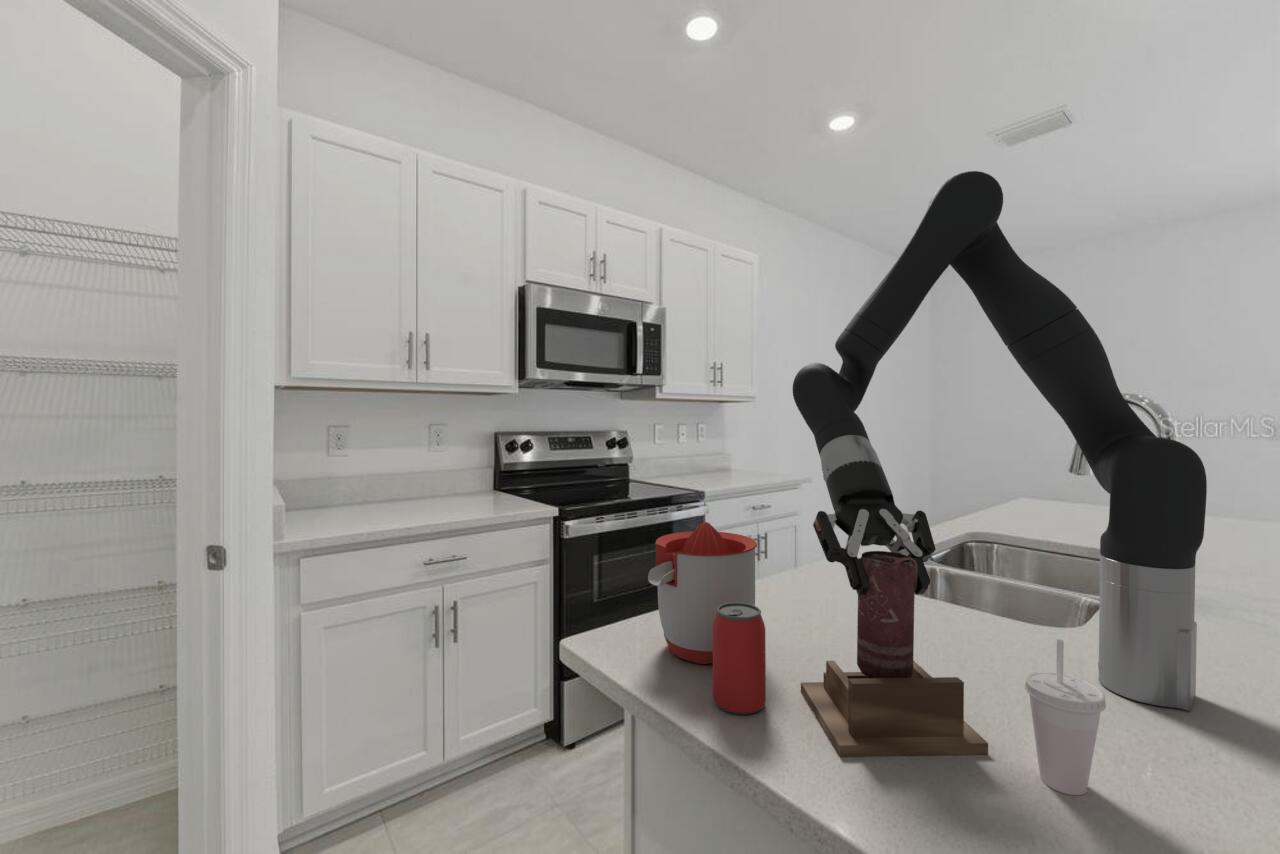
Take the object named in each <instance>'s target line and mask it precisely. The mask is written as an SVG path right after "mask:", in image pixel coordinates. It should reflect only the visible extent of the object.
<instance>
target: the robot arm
mask: <svg viewBox="0 0 1280 854" xmlns="http://www.w3.org/2000/svg"><path fill="white" fill-rule="evenodd" d="M1003 205H1004V192H1003V188H1002V187H1001V185H1000V183H999V181H997V179H996V178H995V177H994V176H992V175H991V174H989V173H986V172H984V171H978V170H972V171H971V170H970V171H965V172H964V171H963V172H961V173H958V174H956V175H953V176H952V177H950V178H948V179H946V180H945V181H944V182H942V184H941V185H939V186H938V188H937V189H936V190H935V191H934V193H933V195H932V197H931V199H930V200H929V203H928V206H927V209H926V211H925V213H924V215H923V217H922V219H921V220H920V222H919V224H918V226H917V229H916V230H915V231H914V233H913V235H912V236H911V239H910V240H909V242H908V243H907V245H906V246H905V248H904V249H903V251H902V253H901V254H900V255H899V256H898V258H897V260H896V261H895V262H894V264H893V266H892V267H891V269H890V270H889V271H888V272H887V273H886V275H885V276H884V277H883V279H882V280H881V281H880V283H879V284H878V285H877V286H876V288H874V290H873V291H872V293H871V294H870V295H869V297H867V299H866V300H865V301H864V302H863V304H862V305H861V307H860V308H859V309H858V310H857V312H856V313H855V315H854V316H853V317H852V319H851V320H849V321H850V322H849V323H848V324H847V325H846V326H845V328H844V330H843V331H842V332H841V333H840V334H839V336H838V338H837V339H836V341H835V345H834V349H835V350H836V351H837V353H838V355H839V356H840V357H841V360H842V364H841V365H840V369H839V372H837V371H836V370H835V369H833V368H832V367H830V366H828V365H826V364H825V363H819V362H814V363H809V364H807V365H805V366H803V367H802V368H800V370H799V371H798V372H797V373H796V375H795V377H794V380H793V383H792V396H793V400H794V402H795V405H796V407H797V410H798V411H799V412H800V415H801V416H802V418H803V420H804V423H806V425H807V426H808V428H809V429H810V431H811V432H812V434H813V437H814V441H815V444H816V448H817V451H818V455H819V458H820V467H821V471H822V474H823V475H822V476H823V477H822V478H823V480H824V482H825V485H826V488H827V491H828V495H829V498H830V501H831V505H832V508H833V510H834V513H827V512H826V511H823V510H819V511H818V512H817V514H816V516H815V518H814V521H813V524H812V526H813V528H814V531H815V534H816V537H817V538H818V541H819V544H820V546H821V548H822V551H823V554H824V556H825V559H826V561H827V562H829V563H835V562H837V563H839V564H842V565H843V566H844V569H845V573H846V575H847V578H848V582H849V586H850V587H851V588H852V590H853V591H856V593H857V596H858V595H865V593H866V592H867V590H868V588H869V584H868V581H867V578H866V574H865V571H864V568H863V565H862V562H861V557H858V554H859V551H860V548H861V547H862V546H863V547H865V546H866V547H868V546H871V545H875V546H880V547H881V546H882V547H883V546H884V547H886V548H887V549H888V550H889V552H894V553H899V554H903V555H906V556H908V557H910V558H912V559H914V560H915V561H916V563H917V574H918V579H917V586H916V591H915V593H914V595H925V592H926V591H927V590H928V589H929V586H930V585H931V578H930V575H929V573H928V571H927V567H926V565H925V563H926V562H928V561H929V559H930V557H931V556H932V554H934V553H935V551H936V546H935V542H934V538H933V535H932V531H931V528H930V524H929V520H928V518H927V515H926V513H925V512H924V511H922V510H917V511H916V512H915V513H905V512H902V511H901V510H900V509H899V508H898V506H897V505H896V503H895V500H894V494H893V491H892V489H891V487H890V484H889V481H888V479H887V476H886V474H885V471H884V469H883V467H882V464H881V461H880V459H879V455H878V454H877V452H876V450H875V448H874V447H873V445H872V443H871V440H870V438H869V436H868V435H869V434H868V433H867V430H866V428H865V425H864V423H863V421H862V420H861V418H860V417H859V415H857V414H856V411H857V409H858V408H859V406H860V404H861V403H862V402H863V399H864V396H865V394H866V392H867V390H868V387H869V385H870V383H871V381H872V378H873V376H874V373H875V372H876V369H877V366H878V364H879V363H880V361H881V360H882V359H883V358H884V356H885V355H886V354H887V352H888V351H889V350H890V348H891V347H892V346H893V345H894V343H895V342H896V341H897V339H898V338H899V336H900V335H901V334H902V332H903V331H904V330H905V328H906V327H907V326H908V324H909V322H910V321H911V320H912V318H913V317H914V315H915V313H916V312H917V310H918V309H919V307H920V306H921V304H922V303H923V301H924V300H925V298H926V297H927V295H928V294H929V292H930V291H931V289H932V288H933V286H934V285H935V284H936V282H937V281H938V280H939V278H940V277H941V276H942V274H943V273H944V272H945V270H946V269H948V267H950V266H951V267H952V269H953V270H954V271H955V272H956V273H957V274H958V276H959V277H960V278H961V279H962V280H963V281H964V283H966V285H967V286H968V287H969V289H970V290H971V292H972V294H973V295H974V297H975V298H976V300H977V302H978V304H979V306H980V307H981V309H982V311H983V312H984V314H985V315H986V317H987V319H988V320H989V322H990V323H991V325H992V326H993V328H994V330H995V331H996V332H997V334H998V336H999V337H1000V339H1001V341H1002V342H1003V343H1004V345H1005V347H1006V348H1007V349H1008V351H1009V352H1010V354H1011V355H1012V357H1013V358H1014V360H1015V361H1016V362H1017V364H1018V366H1019V367H1020V368H1021V369H1022V371H1023V372H1024V373H1025V374H1026V376H1027V378H1029V380H1030V381H1031V382H1032V383H1033V385H1034V386H1035V388H1036V389H1037V390H1038V391H1039V392H1040V394H1041V395H1042V396H1043V398H1044V399H1045V400H1046V401H1047V403H1049V405H1050V406H1051V407H1052V408H1053V409H1054V411H1055V412H1056V413H1057V414H1058V416H1060V418H1061V419H1062V420H1063V422H1064V424H1065V425H1066V426H1067V428H1068V429H1069V431H1070V433H1071V435H1072V437H1073V438H1074V440H1075V441H1076V443H1077V445H1078V447H1079V449H1080V450H1081V452H1082V454H1083V456H1084V458H1085V460H1086V462H1087V464H1088V466H1089V467H1090V470H1091V472H1092V474H1093V475H1094V477H1095V479H1096V480H1097V483H1098V484H1099V485H1100V486H1101V487H1102V488H1103V490H1104V491H1105V492H1106V493H1108V494H1109V514H1108V523H1107V524H1108V525H1107V528H1106V529H1105V531H1104V532H1103V533H1102V534H1101V536H1100V541H1099V553H1100V554H1099V555H1100V556H1099V605H1098V606H1099V607H1098V608H1099V609H1098V610H1099V613H1098V663H1097V665H1098V667H1097V668H1098V681H1099V683H1100V685H1102V686H1103V687H1104V688H1106V689H1108V690H1110V691H1111V692H1113V693H1114V694H1117V695H1120V696H1122V697H1125V698H1128V699H1130V700H1134V701H1136V702H1139V703H1144V704H1148V705H1152V706H1159V707H1164V708H1166V707H1167V708H1176V709H1180V710H1184V711H1188V712H1189V711H1191V709H1192V706H1193V704H1194V701H1195V698H1196V692H1197V691H1196V689H1197V688H1196V687H1197V640H1198V639H1197V637H1198V636H1197V635H1198V633H1197V632H1198V624H1197V622H1196V621H1195V611H1196V610H1195V606H1196V605H1195V603H1196V601H1195V600H1196V562H1197V561H1196V558H1197V557H1196V556H1197V553H1198V550H1199V549H1200V547H1201V545H1202V543H1203V540H1204V535H1205V523H1206V509H1207V508H1206V507H1207V492H1208V490H1207V489H1208V486H1207V485H1208V484H1207V483H1208V482H1207V481H1208V480H1207V472H1206V468H1205V465H1204V462H1203V461H1202V459H1201V457H1200V456H1199V455H1198V454H1197V452H1196V451H1195V450H1194V449H1192V448H1191V447H1190V446H1188V445H1186V444H1184V443H1183V442H1180V441H1178V440H1175V439H1171V438H1170V439H1169V438H1166V437H1159V436H1157V435H1155V433H1154V432H1153V431H1151V429H1150V428H1149V427H1148V426H1147V425H1146V424H1145V423H1144V421H1142V419H1141V418H1140V417H1139V415H1137V413H1136V412H1135V411H1134V409H1132V407H1131V405H1129V404H1128V402H1127V400H1126V399H1125V397H1124V395H1123V394H1122V393H1121V390H1120V388H1119V386H1118V384H1117V380H1116V379H1115V376H1114V373H1113V369H1112V366H1111V364H1110V360H1109V358H1108V355H1107V353H1106V350H1105V347H1104V346H1103V344H1102V341H1101V340H1100V338H1099V336H1098V334H1097V333H1096V331H1095V330H1094V328H1093V327H1092V326H1091V324H1090V323H1089V322H1088V320H1087V319H1086V318H1085V316H1084V314H1082V312H1081V311H1080V309H1079V308H1078V306H1077V305H1076V304H1075V303H1074V302H1073V301H1072V299H1071V298H1070V297H1068V296H1067V295H1066V294H1065V292H1063V291H1062V290H1061V289H1060V288H1059V287H1057V286H1056V285H1055V284H1054V283H1053V282H1051V281H1050V280H1049V279H1047V278H1046V277H1044V276H1042V275H1041V274H1040V273H1039V272H1037V271H1036V270H1035V269H1033V268H1031V267H1030V266H1029V265H1028V264H1027V263H1025V261H1023V259H1021V258H1020V256H1019V255H1018V254H1017V253H1016V251H1015V250H1014V249H1013V247H1012V245H1011V244H1010V242H1009V241H1008V239H1007V237H1006V236H1005V234H1004V233H1003V231H1002V230H1001V227H1000V225H999V224H998V220H999V219H1000V217H1001V214H1002V210H1003ZM901 524H903V525H904V527H906V529H907V530H906V529H904V528H903V526H901ZM835 526H837V527H838V528H839V529H840V530H841V531H842V532H843V533H845V534H846V535H847V536H848V537H847V540H846V544H845V547H841V544H840V542H839V540H838V537H837V535H836V533H835V531H834V528H835ZM910 533H911V535H910ZM911 536H912V539H911ZM895 537H896V540H895Z"/></svg>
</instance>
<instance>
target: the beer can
mask: <svg viewBox="0 0 1280 854" xmlns="http://www.w3.org/2000/svg"><path fill="white" fill-rule="evenodd" d="M716 610H717V614H716V616H715V619H714V622H713V663H712V698H713V702H714V703H715V704H716V706H717V707H718V708H720V709H722V711H725V712H728V713H731V714H735V715H751V714H755V713H756V712H759V711H760V710H761V709H763V708H764V707H765V705H766V700H767V696H766V695H767V694H766V693H767V691H766V690H767V689H766V685H767V684H766V683H767V682H766V681H767V680H766V679H767V677H766V676H767V675H766V674H767V673H766V669H767V667H766V664H767V663H766V661H767V660H766V656H767V655H766V651H767V649H766V625H765V621H764V619H763V617H762V610H761V609H760V608H759V607H757V606H756V605H755V606H754V605H751V604H747V603H739V602H738V603H725V604H722V605H720V606H718V608H717V609H716Z"/></svg>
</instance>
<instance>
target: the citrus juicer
mask: <svg viewBox="0 0 1280 854" xmlns="http://www.w3.org/2000/svg"><path fill="white" fill-rule="evenodd" d="M756 548H758V543H757V542H756V540H754V539H753V538H752V537H749V536H746V535H742V534H737V533H733V532H727V531H726V532H725V531H718V530H717V529H716V528H715V527H714V526H713V525H712V524H711V523H709V522H707V521H702V523H701V524H699V525H698V526H697V527H696V528H695V530H693V531H691V530H690V531H681V532H674V533H673V532H672V533H669V534H665V535H662V536H659V537H658V538H657V539H656V540H655V566H654V567H653V568H651V569H650V570H649V572H648V573H647V575H648V576H647V581H648V583H649V584H651V585H653V586H656V587H657V604H658V613H659V618H660V619H659V621H660V624H661V627H662V630H663V636H664V639H665V641H666V644H667V646H668V648H669V650H670V652H671V653H672V654H673V655H674V656H676V657H678V658H680V659H683V660H685V661H689V662H692V663H695V664H697V665H705V664H713V622H714V619H715V616H716V614H717V610H716V609H717V608H718V606H720V605H722V604H725V603H738V602H739V603H747V604H751V605H754V606H756Z"/></svg>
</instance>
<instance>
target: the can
mask: <svg viewBox="0 0 1280 854" xmlns="http://www.w3.org/2000/svg"><path fill="white" fill-rule="evenodd" d="M860 558H861V562H862V565H863V568H864V571H865V574H866V578H867V581H868V584H869V588H868V590H867V592H866V593H865V595H858V594H857V631H856V633H857V635H856V636H857V639H856V642H857V643H856V644H857V645H856V664H857V667H858V669H859V672H862V673H863V674H864V675H865V676H867V677H869V678H911V677H912V675H913V661H914V648H915V647H914V646H915V645H914V644H915V643H914V641H915V638H914V637H915V633H914V632H915V630H914V629H915V591H916V586H917V579H918V574H917V563H916V561H915V560H914V559H912V558H910V557H908V556H906V555H903V554H899V553H894V552H891V551H885V550H870V551H865V552H863V553H862V554H861V557H860Z"/></svg>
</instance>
